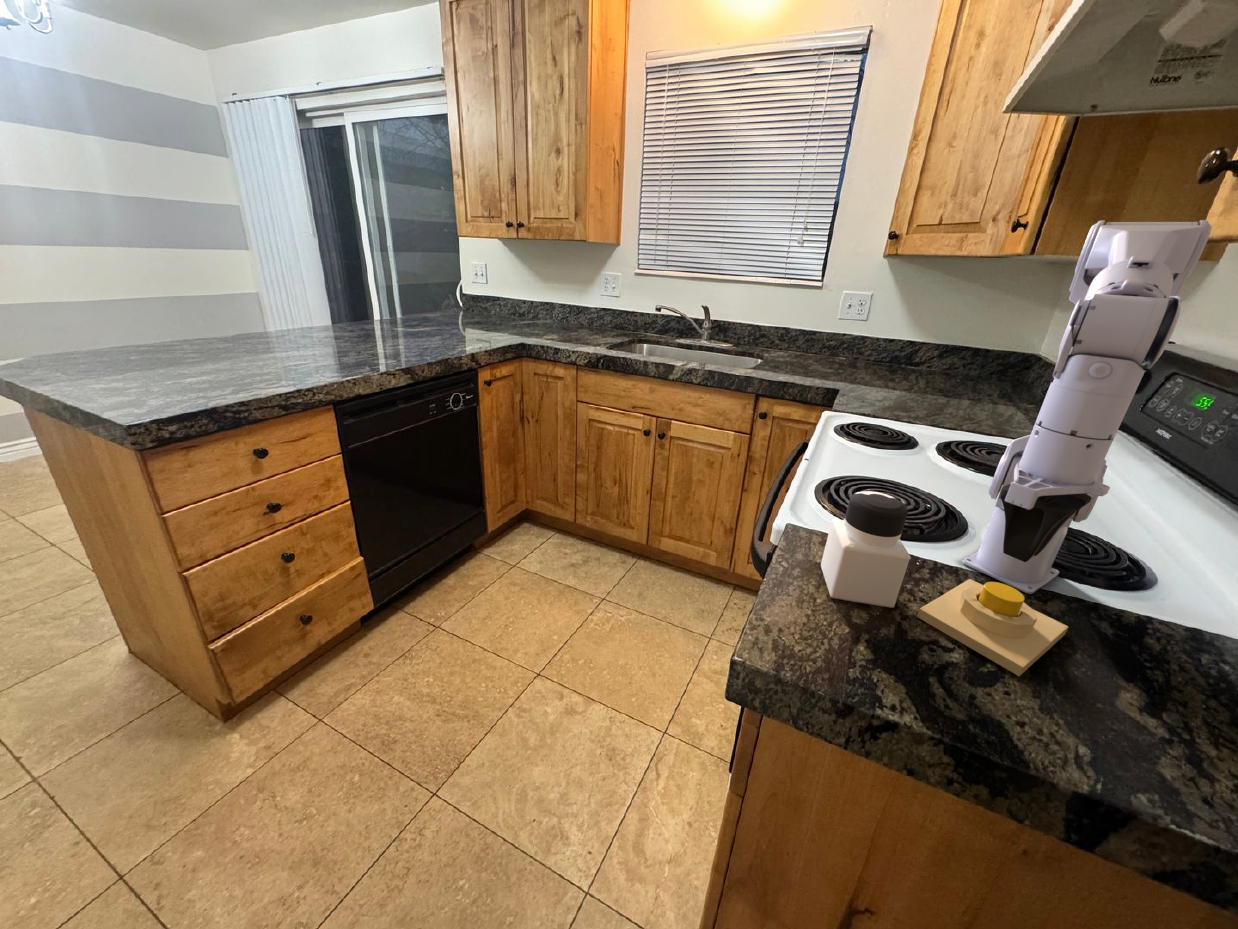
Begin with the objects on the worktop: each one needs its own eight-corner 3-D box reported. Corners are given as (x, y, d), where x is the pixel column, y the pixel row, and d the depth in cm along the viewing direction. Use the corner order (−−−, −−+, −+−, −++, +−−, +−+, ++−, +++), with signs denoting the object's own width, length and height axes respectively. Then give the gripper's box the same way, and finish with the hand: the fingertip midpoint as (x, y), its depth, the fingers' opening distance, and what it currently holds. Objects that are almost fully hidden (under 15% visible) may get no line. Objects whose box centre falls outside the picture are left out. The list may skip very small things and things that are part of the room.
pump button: (986, 593, 57) (993, 578, 56) (1023, 611, 54) (1030, 595, 53) (972, 602, 55) (978, 587, 54) (1009, 622, 52) (1016, 606, 51)
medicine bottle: (894, 609, 57) (925, 517, 52) (829, 599, 58) (854, 508, 54) (877, 574, 63) (903, 490, 59) (819, 565, 65) (840, 482, 60)
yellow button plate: (966, 586, 62) (974, 566, 61) (1064, 635, 55) (1075, 613, 53) (916, 617, 56) (924, 595, 55) (1019, 677, 48) (1030, 653, 47)
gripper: (1102, 455, 40) (1038, 595, 45) (1153, 432, 47) (1093, 554, 52) (1002, 429, 45) (955, 557, 50) (1062, 412, 53) (1016, 525, 58)
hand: (1020, 553), depth 52 cm, fingers closed
